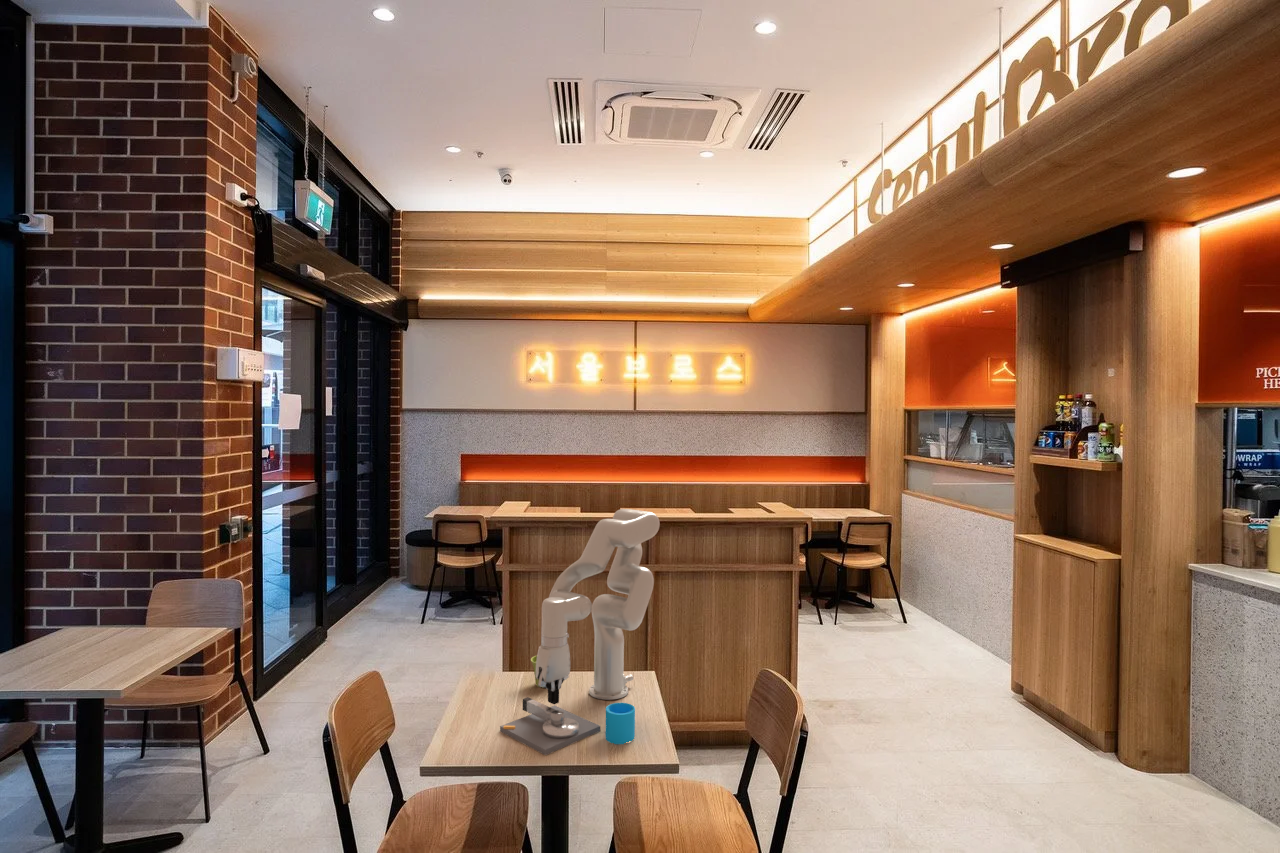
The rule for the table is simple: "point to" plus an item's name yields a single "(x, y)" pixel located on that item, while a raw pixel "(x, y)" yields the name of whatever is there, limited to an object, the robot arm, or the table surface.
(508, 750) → the table surface
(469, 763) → the table surface
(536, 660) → the plant pot
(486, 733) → the table surface
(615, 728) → the mug
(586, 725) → the stand base
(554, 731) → the lever
